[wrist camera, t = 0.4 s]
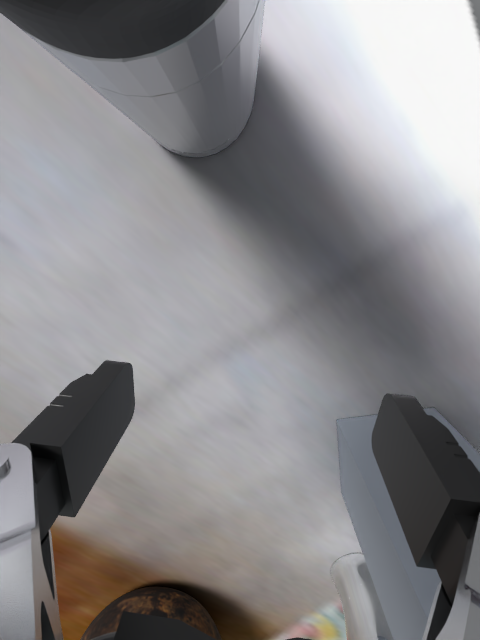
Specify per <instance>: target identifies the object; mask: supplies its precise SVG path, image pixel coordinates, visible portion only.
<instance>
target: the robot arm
mask: <svg viewBox="0 0 480 640" xmlns="http://www.w3.org/2000/svg"><path fill="white" fill-rule="evenodd" d="M264 6H265V0H0V13H2V14H3V15H4V16H5V17H7V18H8V19H9V20H10V21H12V22H13V23H14V24H16V25H17V26H18V27H19V28H20V29H22V30H23V31H24V32H25V33H26V34H28V35H29V36H30V37H31V38H32V39H34V40H35V41H36V42H37V43H38V44H40V45H41V46H42V47H43V48H44V49H46V50H47V51H48V52H49V53H51V54H52V55H53V56H54V57H55V58H57V59H58V60H59V61H60V62H61V63H63V64H64V65H65V66H66V67H67V68H69V69H70V70H71V71H72V72H73V73H75V74H76V75H78V76H79V77H80V78H81V79H82V80H84V81H85V82H86V83H87V84H88V85H90V86H91V87H92V88H93V89H94V90H96V91H97V92H98V93H99V94H100V95H102V96H103V97H104V98H105V99H106V100H108V101H109V102H110V103H111V104H112V105H114V106H115V107H116V108H117V109H118V110H120V111H121V112H122V113H123V114H124V115H126V116H127V117H128V118H129V119H130V120H132V121H133V122H134V123H135V124H136V125H138V126H139V127H140V128H141V129H142V130H143V131H145V132H146V133H147V134H148V135H149V136H151V137H152V138H153V139H154V140H155V141H157V142H158V143H159V144H161V145H162V146H164V147H165V148H166V149H168V150H169V151H172V152H174V153H176V154H179V155H182V156H187V157H206V156H209V155H212V154H216V153H218V152H220V151H221V150H223V149H225V148H227V147H228V146H229V145H230V144H231V143H232V142H233V141H235V140H236V139H237V137H238V136H239V135H240V133H241V132H242V130H243V129H244V128H245V126H246V123H247V121H248V119H249V117H250V114H251V110H252V106H253V102H254V95H255V86H256V79H257V69H258V60H259V51H260V42H261V33H262V24H263V15H264ZM134 407H135V397H134V382H133V368H132V365H131V364H130V363H125V362H117V361H108V360H107V361H104V362H103V363H102V364H101V366H100V367H99V368H98V369H97V370H96V371H95V372H94V373H93V374H92V375H91V374H86V375H84V376H82V377H80V378H78V379H77V380H75V381H73V382H71V383H70V384H69V385H68V386H67V387H66V388H65V389H64V390H63V391H62V392H61V393H60V395H59V396H57V397H56V398H55V399H54V400H53V401H52V402H51V403H50V406H47V407H46V408H45V409H44V410H43V411H42V412H41V413H40V414H39V415H38V416H37V417H36V418H35V419H34V420H33V421H32V422H31V423H30V424H29V425H28V426H27V427H26V428H25V429H24V430H23V431H22V432H21V433H20V434H19V435H18V437H17V438H16V439H15V440H14V441H13V442H12V443H4V444H0V640H63V634H62V628H61V623H60V617H59V609H58V600H57V590H56V579H55V569H54V559H53V548H52V538H51V531H50V528H51V526H52V525H53V523H54V521H55V520H56V518H57V517H58V515H61V516H68V517H75V516H76V515H77V513H78V511H79V509H80V508H81V506H82V504H83V503H84V501H85V499H86V497H87V496H88V494H89V492H90V490H91V489H92V487H93V485H94V484H95V482H96V480H97V478H98V477H99V475H100V473H101V472H102V470H103V468H104V466H105V465H106V463H107V461H108V459H109V458H110V456H111V454H112V453H113V451H114V449H115V447H116V446H117V444H118V442H119V440H120V439H121V437H122V435H123V434H124V432H125V430H126V428H127V427H128V425H129V423H130V421H131V419H132V416H133V413H134ZM371 442H372V450H373V454H374V456H375V459H376V462H377V464H378V467H379V469H380V472H381V475H382V477H383V480H384V483H385V485H386V488H387V490H388V493H389V496H390V498H391V501H392V503H393V506H394V509H395V511H396V514H397V516H398V519H399V522H400V524H401V527H402V530H403V532H404V535H405V537H406V540H407V543H408V545H409V548H410V550H411V553H412V556H413V558H414V561H415V563H416V566H417V567H422V568H430V569H436V570H437V572H438V575H439V577H440V579H441V581H440V583H439V584H438V586H437V589H436V592H435V596H434V599H433V603H432V607H431V610H430V614H429V617H428V621H427V624H426V628H425V631H424V635H423V639H422V640H480V472H479V471H478V469H477V468H476V467H475V465H474V464H473V462H472V461H471V460H470V459H468V457H467V456H468V455H467V454H466V453H465V451H464V450H463V449H462V447H461V446H459V445H458V444H459V443H458V442H457V440H456V439H455V438H454V436H453V435H452V433H451V432H450V431H449V429H448V428H447V427H445V426H444V425H443V424H442V423H441V422H439V421H438V420H437V419H436V418H435V417H433V416H432V415H427V414H426V412H425V411H424V410H423V408H422V407H421V405H420V404H419V402H418V401H417V399H416V398H415V397H413V396H405V395H397V394H386V395H385V396H384V398H383V400H382V403H381V407H380V410H379V413H378V416H377V419H376V422H375V425H374V428H373V432H372V440H371ZM91 640H216V639H215V638H213V637H211V636H209V635H207V634H205V633H203V632H201V631H199V630H198V629H196V628H194V627H192V626H190V625H188V624H186V623H184V622H183V621H181V620H179V619H172V618H165V617H159V616H152V615H146V614H139V613H132V612H126V611H123V613H122V616H121V619H120V622H119V625H118V628H117V631H116V632H111V633H107V634H104V635H101V636H98V637H95V638H93V639H91ZM287 640H310V639H303V638H292V639H287Z"/></svg>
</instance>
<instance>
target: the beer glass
mask: <svg viewBox="0 0 480 640" xmlns="http://www.w3.org/2000/svg"><path fill="white" fill-rule="evenodd" d="M331 576H332V580H333V582H334V584H335V587H336V589H337V592H338V594H339V597H340V600H341V603H342V607H343V612H344V618H345V625H346V635H347V640H393V637H392V634H391V631H390V628H389V625H388V623H387V620H386V617H385V614H384V611H383V609H382V606H381V603H380V600H379V597H378V594H377V592H376V589H375V586H374V583H373V580H372V578H371V575H370V572H369V569H368V566H367V563H366V561H365V558H364V555H363V554H361V553H353V554H348V555H345V556H343V557H341V558H339V559H338V560H337V561H335V563H334V564H333V566H332V568H331Z"/></svg>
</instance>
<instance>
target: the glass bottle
mask: <svg viewBox="0 0 480 640" xmlns="http://www.w3.org/2000/svg"><path fill="white" fill-rule="evenodd" d="M123 611H126V612H132V613H139V614H146V615H152V616H159V617H165V618H172V619H179V620H181V621H183V622H184V623H186V624H188V625H190V626H192V627H194V628H196V629H198V630H199V631H201V632H203V633H205V634H207V635H209V636H211V637H213V638H215V639H216V640H222V639H221V636H220V634H219V631H218V629H217V627H216V625H215V623H214V621H213V619H212V618H211V616H210V615H209V613H208V612H207V610H206V609H205V608H204V607H203V606H202V605H201V604H200V603H199V602H198V601H197V600H195V599H194V598H193V597H191V596H190V595H188V594H186V593H185V592H182V591H179V590H176V589H172V588H167V587H145V588H140V589H137V590H134V591H131V592H129V593H126V594H125V595H122V596H121V597H119V598H117V599H116V600H115V601H113V602H112V603H111V604H109V605H108V606H107V607H106V608H105V609H104V610H103V611H101V612H100V614H99V615H98V616H97V617H96V618H95V619H94V620H93V621H92V623H91V624H90V625H89V627H88V628H87V630H86V631H85V633H84V634H83V636H82V638H81V640H91V639H93V638H95V637H98V636H101V635H104V634H107V633H111V632H116V631H117V628H118V625H119V622H120V619H121V616H122V613H123Z"/></svg>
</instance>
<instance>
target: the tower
mask: <svg viewBox="0 0 480 640" xmlns="http://www.w3.org/2000/svg"><path fill="white" fill-rule="evenodd" d="M423 410H424V411H425V412H426V414H427V415H432V416H433V417H435V418H436V419H437V420H438V421H439V422H441V423H442V424H443V425H444V426H445V427H447V428H448V429H449V431H450V432H451V433H452V435H453V436H454V438H455V439H456V440H457V442H458V443H459V444H458V445H459V446H461V447H462V449H463V450H464V451H465V453H466V454H467V455H468V456H467V457H468V459H470V460H471V461H472V462H473V464H474V465H475V467H476V468H477V469H478V471H479V472H480V454H479V453H478V452H477V451H476V450H475V449H474V448H473V447H472V445H471V444H470V443H469V442H468V441H467V440H466V439H465V438H464V437H463V436H462V435H461V434H460V433H459V432H458V431H457V430H456V429H455V428H454V427H453V426H452V425H451V424H450V423H449V422H448V421H447V420H446V419H445V418H444V417H443V416H442V415H441V414H440V413H439V412H438V411H437V410H436V409H435V408H434V407H433V408H425V409H423ZM377 416H378V414H377V415H369V416H361V417H353V418H345V419H337V434H338V449H339V464H340V479H341V493H342V496H343V499H344V501H345V504H346V507H347V510H348V513H349V515H350V518H351V521H352V524H353V527H354V530H355V532H356V535H357V538H358V541H359V544H360V547H361V549H362V552H363V555H364V558H365V561H366V563H367V566H368V569H369V572H370V575H371V578H372V580H373V583H374V586H375V589H376V592H377V594H378V597H379V600H380V603H381V606H382V609H383V611H384V614H385V617H386V620H387V623H388V625H389V628H390V631H391V634H392V637H393V640H422V639H423V635H424V631H425V628H426V624H427V621H428V617H429V614H430V610H431V607H432V603H433V599H434V596H435V592H436V589H437V586H438V584H439V583H440V581H441V579H440V577H439V575H438V572H437V570H436V569H430V568H422V567H417V566H416V563H415V561H414V558H413V556H412V553H411V550H410V548H409V545H408V543H407V540H406V537H405V535H404V532H403V530H402V527H401V524H400V522H399V519H398V516H397V514H396V511H395V509H394V506H393V503H392V501H391V498H390V496H389V493H388V490H387V488H386V485H385V483H384V480H383V477H382V475H381V472H380V469H379V467H378V464H377V462H376V459H375V456H374V454H373V450H372V442H371V440H372V432H373V428H374V425H375V422H376V419H377Z"/></svg>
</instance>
